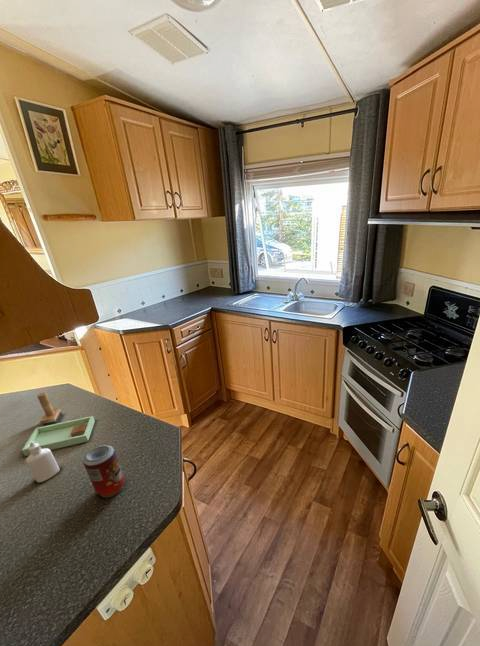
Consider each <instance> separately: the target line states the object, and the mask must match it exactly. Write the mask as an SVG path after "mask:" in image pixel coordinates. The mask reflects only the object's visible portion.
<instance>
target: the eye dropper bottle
mask: <svg viewBox="0 0 480 646" xmlns="http://www.w3.org/2000/svg"><path fill="white" fill-rule="evenodd" d="M28 450H29V452H30V453H31V455H27V457H26V459H25V463H26V465H27V467H28V469H29V471H30V473H31V474H32V476H33V478H34V480H35V481H36V482H37V483H43V482H45V481H47V480H49V479H51V478H52V477H54V476H55V475H57V474H58V473H59V472H60V470H61V469H60V466H59V464H58V463H57V460H56V458H55V456H54V454H53V451H52V450H49V449H48V448H44V449H41V447H40V445H39V444H38V443H34V442H33V441H31V442H30V446H29V447H28Z"/></svg>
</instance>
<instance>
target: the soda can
mask: <svg viewBox="0 0 480 646" xmlns="http://www.w3.org/2000/svg"><path fill="white" fill-rule="evenodd" d="M82 464H83V466H84V468H85V470H86V472H87V475H88V478H89V480H90V482H91V484H92V487H93V490H94V491H95V493H96V494H98V495H100V496H101V497H102V498H111V497H114V496H115V495H117V494H119V492H121V491H122V489H123V488H124V483H125V475H124V473H123V472H124V471H123V469H122V467H121V464H120V461H119V459H118V456H117V453H116V450H115V448H114V447H113V446H112V445H110V444H109V445H108V444H104V445H103V444H102V445H99V446H98V445H97V446H96V447H94V448H92V449H90V450H89V451H88V452H87V453H86V454H85V455H84V456H83V458H82Z"/></svg>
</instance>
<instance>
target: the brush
mask: <svg viewBox="0 0 480 646" xmlns="http://www.w3.org/2000/svg"><path fill="white" fill-rule="evenodd" d="M36 398H37V399H38V401H39V403H40V406H41V409H42V410H43V412H44V414H43V415H42V417H41V419H40V420H39V424H40V425H42V427H43V426H48V425H53V424H57V423H60V421H61V418H62V417H63V413H62V408H61V407H56V408H54V407H53V406H52V403H51V400H50V399H49V397H48V394H47V392H40V393H37V394H36Z"/></svg>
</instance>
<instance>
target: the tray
mask: <svg viewBox="0 0 480 646" xmlns="http://www.w3.org/2000/svg"><path fill="white" fill-rule="evenodd" d="M95 422H96V421H95V417H94V415H91V416H85V417H81V418H77V419H72V420H67V421H62V422H59V423H57V424H53V425H48V426H43V425H42V426H38V427H35V428H34V430H33V431H32V433H31V435H30V437H28V439H27V441H26V442H25V444H24V446H23V448H22V449H21V451H22V453H23V455H24V457H26V456H27V457H28V456H30V455H31V453H30V452H29V450H28V447H29V446H30V442H31V441H33V442H34V443H38V444H39V445H40V447H41V449H44V448H48V449H49V450H51V451H52V450H57V449H61V448H65V447H69V446H74V445H78V444H83V443H86V442H89V440H90V437H91V434H92V432H93V428H94V425H95ZM83 424H87V427H86V430H85V433H84V434H83V435H79V436H74V437H72V436H71V431H72V429H73V427H74V426H78V425H83Z"/></svg>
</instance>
